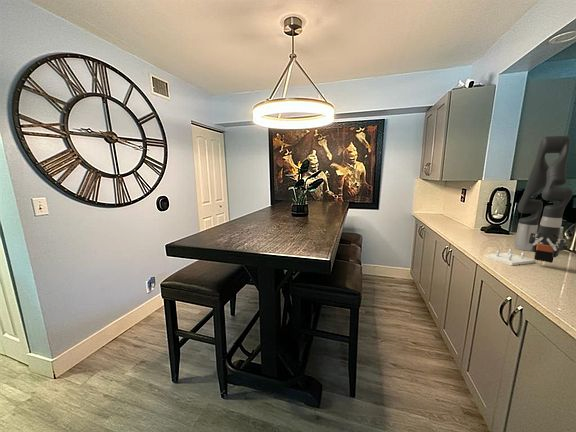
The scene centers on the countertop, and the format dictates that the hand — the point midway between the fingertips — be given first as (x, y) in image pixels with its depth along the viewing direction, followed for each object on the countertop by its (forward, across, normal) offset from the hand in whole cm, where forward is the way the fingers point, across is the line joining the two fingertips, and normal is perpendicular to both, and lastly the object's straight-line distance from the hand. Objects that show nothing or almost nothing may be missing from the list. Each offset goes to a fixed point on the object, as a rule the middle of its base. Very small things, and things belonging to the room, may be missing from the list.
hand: (544, 254), depth 131 cm
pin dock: (+7, +12, +6) cm, 15 cm away
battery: (+4, 0, 0) cm, 4 cm away
